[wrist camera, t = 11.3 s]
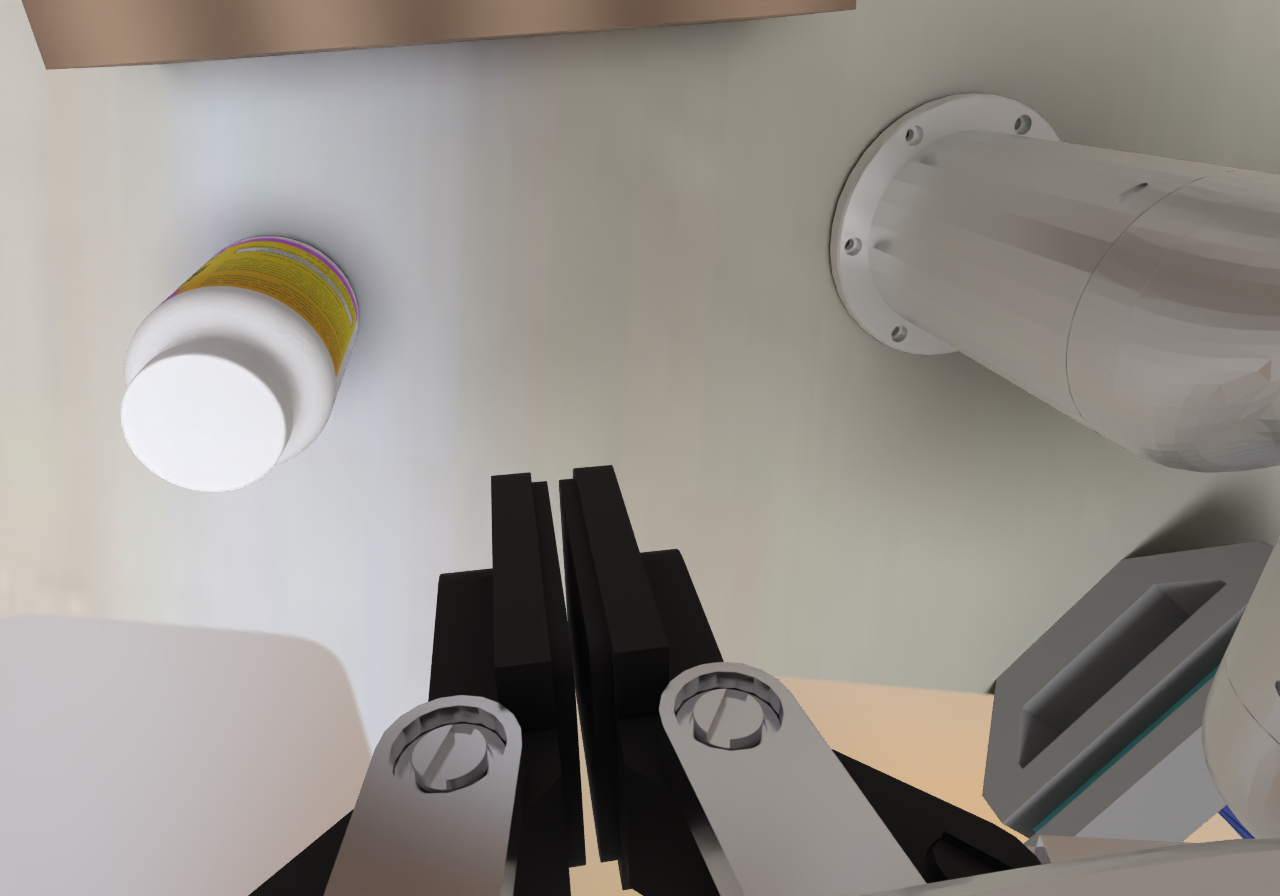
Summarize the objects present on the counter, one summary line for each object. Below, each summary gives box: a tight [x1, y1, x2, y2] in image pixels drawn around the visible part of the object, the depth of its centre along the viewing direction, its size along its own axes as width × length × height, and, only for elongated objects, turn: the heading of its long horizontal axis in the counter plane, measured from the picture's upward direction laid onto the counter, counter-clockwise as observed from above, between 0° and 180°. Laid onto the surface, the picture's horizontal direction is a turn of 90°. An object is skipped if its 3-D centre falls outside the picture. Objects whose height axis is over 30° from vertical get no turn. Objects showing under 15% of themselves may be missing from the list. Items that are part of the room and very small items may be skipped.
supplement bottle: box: [121, 236, 359, 492], centre depth 31 cm, size 7×7×13 cm
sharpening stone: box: [982, 541, 1274, 847], centre depth 52 cm, size 25×8×11 cm, turn 140°
